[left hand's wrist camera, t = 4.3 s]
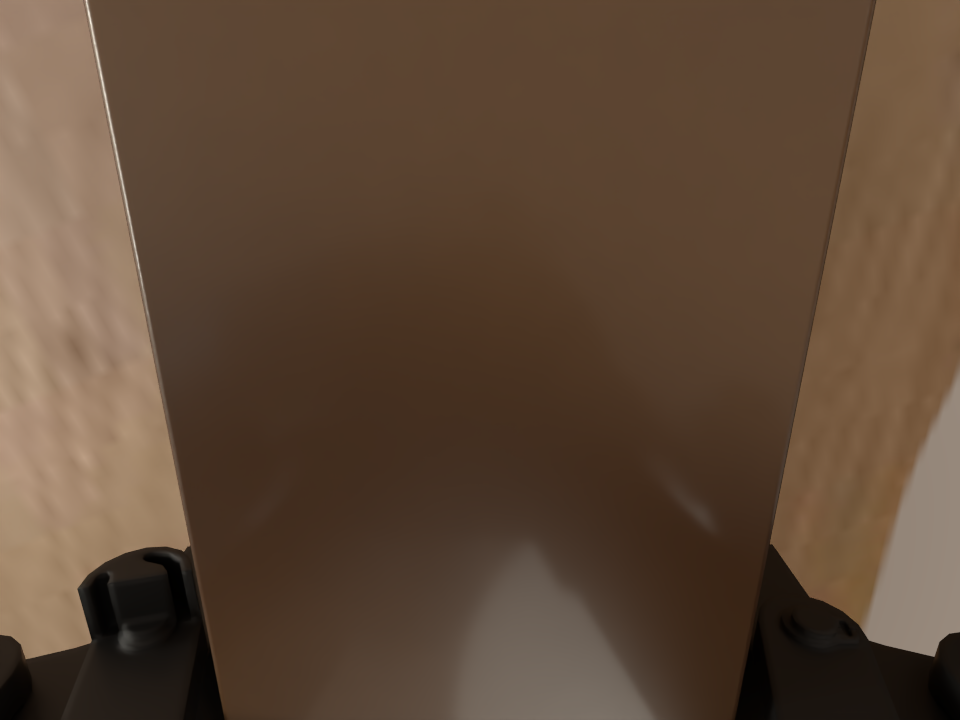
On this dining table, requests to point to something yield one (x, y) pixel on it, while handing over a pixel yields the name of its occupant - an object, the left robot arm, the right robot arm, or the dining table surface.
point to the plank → (479, 333)
